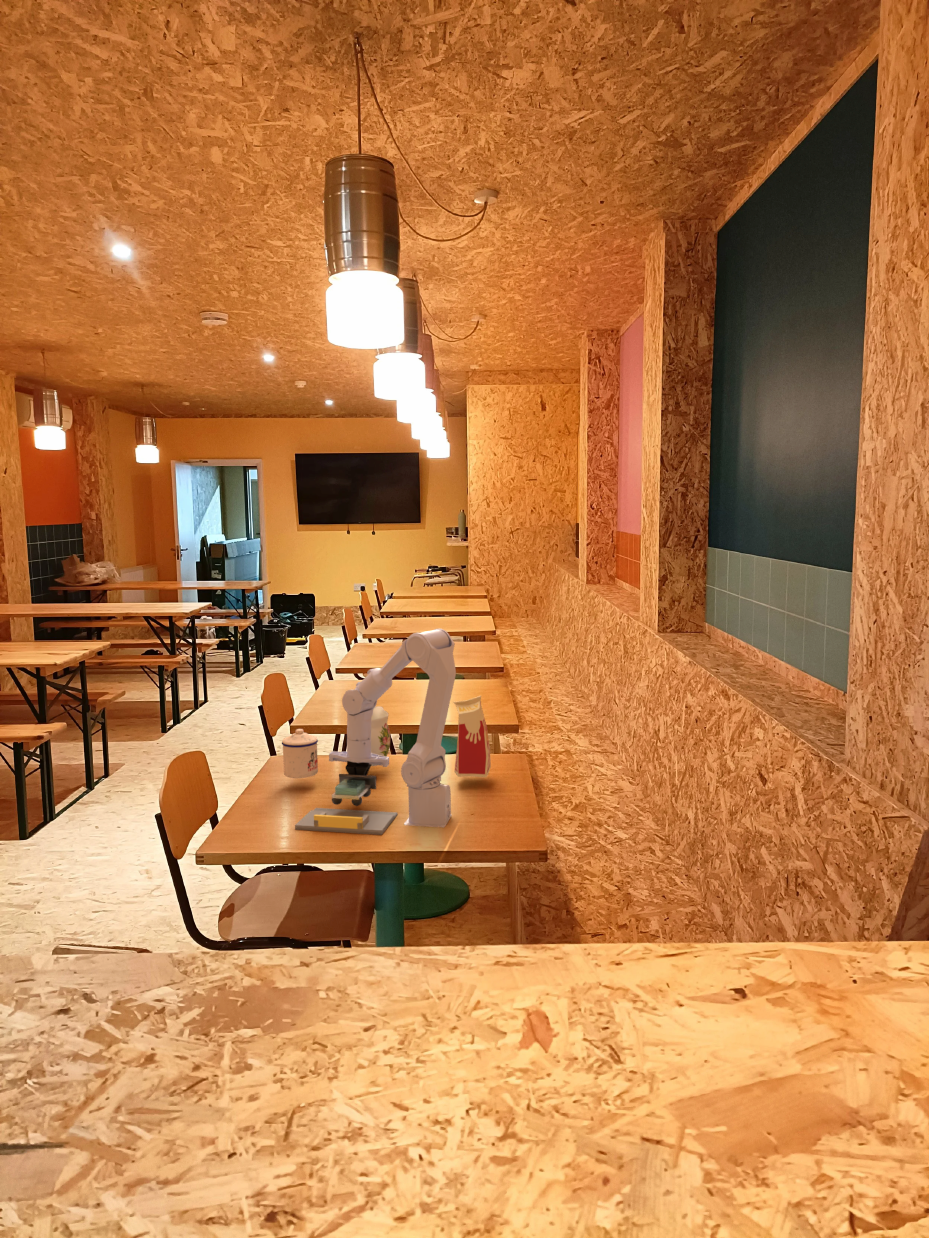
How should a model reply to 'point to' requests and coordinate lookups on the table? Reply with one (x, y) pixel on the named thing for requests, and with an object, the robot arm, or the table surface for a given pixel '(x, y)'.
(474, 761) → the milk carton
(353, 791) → the toy cart
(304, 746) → the teacup with lid
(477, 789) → the table surface
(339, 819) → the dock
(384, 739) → the pitcher
